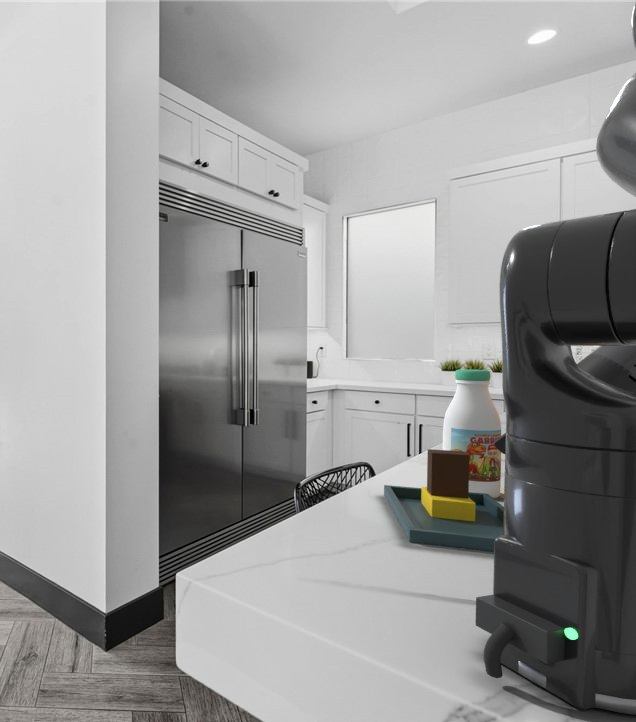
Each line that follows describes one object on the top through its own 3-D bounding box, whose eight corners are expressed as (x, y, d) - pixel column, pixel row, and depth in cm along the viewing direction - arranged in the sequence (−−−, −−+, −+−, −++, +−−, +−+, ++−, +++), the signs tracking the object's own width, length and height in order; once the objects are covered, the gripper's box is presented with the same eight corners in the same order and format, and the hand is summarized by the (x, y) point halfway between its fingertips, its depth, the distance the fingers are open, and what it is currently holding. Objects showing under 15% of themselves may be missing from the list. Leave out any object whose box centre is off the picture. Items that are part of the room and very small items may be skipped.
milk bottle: (431, 490, 88) (433, 369, 87) (459, 485, 91) (462, 368, 90) (481, 502, 81) (484, 371, 80) (510, 496, 84) (513, 370, 83)
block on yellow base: (475, 521, 71) (476, 458, 70) (431, 517, 72) (432, 455, 72) (460, 506, 77) (462, 448, 77) (421, 503, 79) (422, 446, 79)
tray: (550, 563, 59) (551, 545, 58) (409, 546, 64) (409, 529, 63) (487, 507, 79) (487, 493, 79) (383, 497, 84) (384, 484, 84)
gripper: (569, 350, 75) (470, 427, 79) (626, 352, 62) (504, 444, 66) (616, 389, 73) (513, 465, 78) (686, 399, 60) (556, 490, 64)
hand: (509, 455), depth 72 cm, fingers open, 8 cm apart
